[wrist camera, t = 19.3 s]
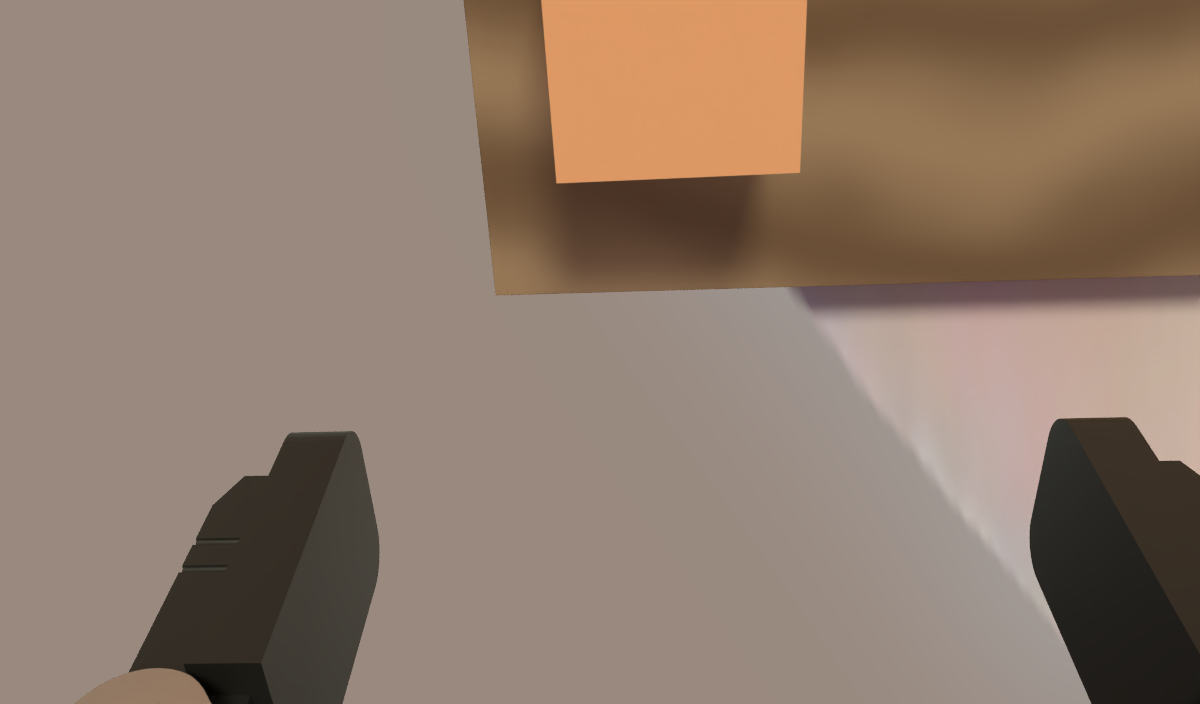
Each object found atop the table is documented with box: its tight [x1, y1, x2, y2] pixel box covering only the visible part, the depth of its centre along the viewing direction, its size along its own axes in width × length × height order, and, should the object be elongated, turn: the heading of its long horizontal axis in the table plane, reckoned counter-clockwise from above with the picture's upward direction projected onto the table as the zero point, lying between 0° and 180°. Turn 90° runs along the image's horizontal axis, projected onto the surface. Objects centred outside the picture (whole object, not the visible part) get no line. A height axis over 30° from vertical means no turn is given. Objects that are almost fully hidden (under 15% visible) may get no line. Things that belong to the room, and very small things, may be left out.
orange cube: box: [541, 0, 807, 183], centre depth 28 cm, size 6×6×6 cm
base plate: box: [464, 0, 1200, 295], centre depth 30 cm, size 18×24×6 cm
